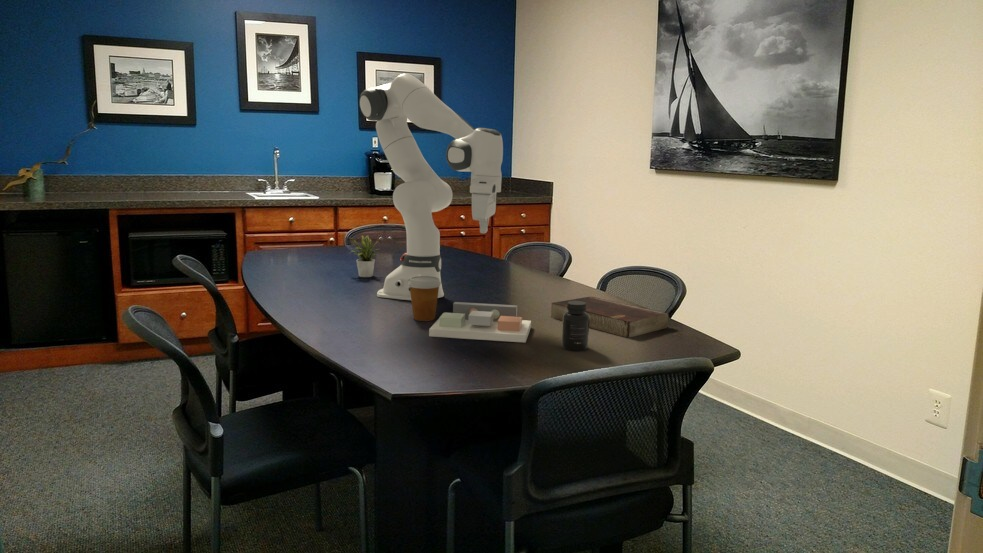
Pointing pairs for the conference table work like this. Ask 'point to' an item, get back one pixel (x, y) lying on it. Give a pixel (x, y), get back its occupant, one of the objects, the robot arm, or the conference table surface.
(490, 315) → the grey key
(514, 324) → the terracotta key
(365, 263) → the house plant
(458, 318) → the sage key
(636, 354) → the conference table surface
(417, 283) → the disposable coffee cup
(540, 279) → the conference table surface
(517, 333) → the keypad
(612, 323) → the hardback book
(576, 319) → the supplement bottle
